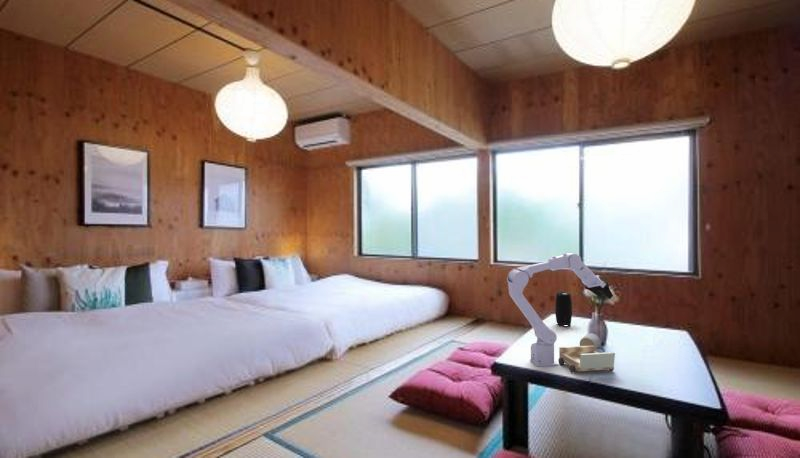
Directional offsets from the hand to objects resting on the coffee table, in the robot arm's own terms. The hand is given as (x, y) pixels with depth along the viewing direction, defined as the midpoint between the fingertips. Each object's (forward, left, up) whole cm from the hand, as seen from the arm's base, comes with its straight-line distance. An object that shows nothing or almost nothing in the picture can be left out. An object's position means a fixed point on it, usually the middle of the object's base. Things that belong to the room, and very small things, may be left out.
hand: (605, 296), depth 180 cm
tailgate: (-14, -14, -26) cm, 33 cm away
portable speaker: (+14, +62, -29) cm, 70 cm away
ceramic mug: (+3, +14, -30) cm, 33 cm away
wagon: (-14, -6, -29) cm, 33 cm away
